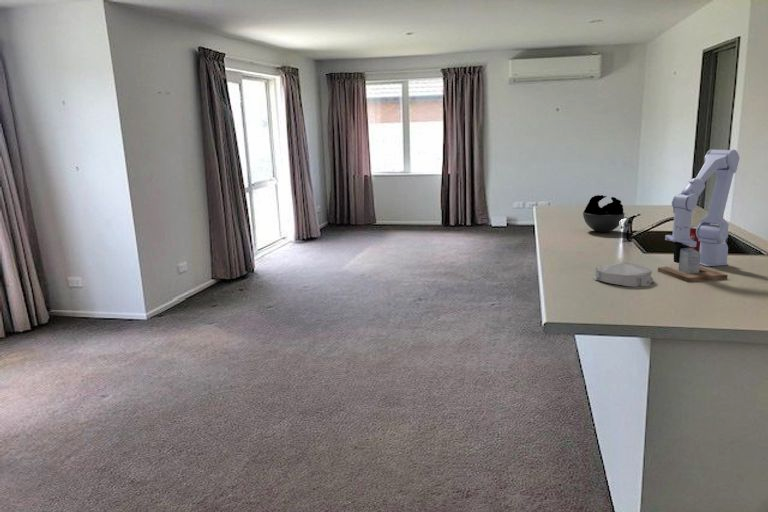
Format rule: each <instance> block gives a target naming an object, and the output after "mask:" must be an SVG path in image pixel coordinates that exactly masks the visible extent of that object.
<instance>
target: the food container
mask: <svg viewBox="0 0 768 512" xmlns="http://www.w3.org/2000/svg"><path fill="white" fill-rule="evenodd" d="M652 272H653V271H652V269H650V268H649V267H646V266H645V265H640V264H635V263H630V262H626V261H623V262H617V263H611V264H605V265H599V266H597V267H595V274H594V276H593V278H592V279H593V280H595V281H600V282H603V283H608V284H613V285H618V286H625V287H634V288H636V287H638V286H641V287H648V286H650V285H651V283H654V279H653V277H652Z"/></svg>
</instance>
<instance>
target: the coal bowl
mask: <svg viewBox="0 0 768 512" xmlns="http://www.w3.org/2000/svg"><path fill="white" fill-rule="evenodd" d="M607 197H608V196H607V195H603V194H602V195H600V194H597V195H594V196H592V197H591V198H590V199H589V201H588V202H587V205H586V206H585V209H584V210H583V211H582V217H583V219H584V222H585V223H586V225H587V227H589V228H590V229H591V230H593V231H595V232H598V231H599V233H607V232H611V231H613V230H615V229H617V228H618V227H619V226H620V225H619V221H620V220H621V219H623V220H624V219H625V214H626V213H625V212H624V206H623V204H622V201H621V200H620V199H618V198H616V197H614V196H612V197H610V199H611V201H612V202H608V203H607V204H605V205H603V206H600V205H599V202H600V201H602V200H603V199H604V198H605V199H606V198H607Z"/></svg>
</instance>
